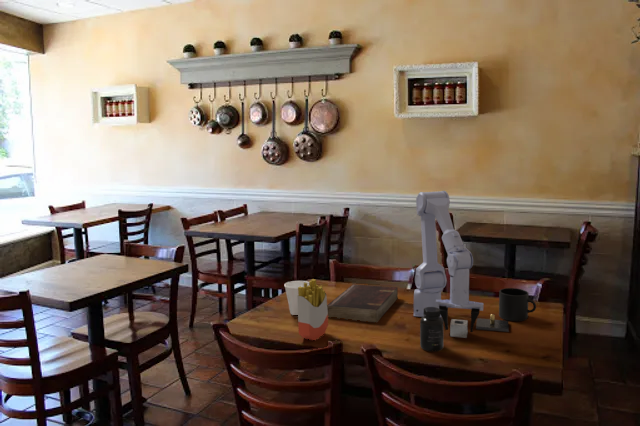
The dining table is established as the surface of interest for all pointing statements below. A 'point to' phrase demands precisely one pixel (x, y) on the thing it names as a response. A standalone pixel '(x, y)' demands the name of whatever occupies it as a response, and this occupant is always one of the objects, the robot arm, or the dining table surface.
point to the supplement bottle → (431, 330)
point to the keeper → (492, 324)
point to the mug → (514, 304)
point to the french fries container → (312, 311)
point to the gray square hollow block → (459, 328)
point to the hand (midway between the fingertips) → (459, 330)
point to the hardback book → (363, 302)
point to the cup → (293, 294)
